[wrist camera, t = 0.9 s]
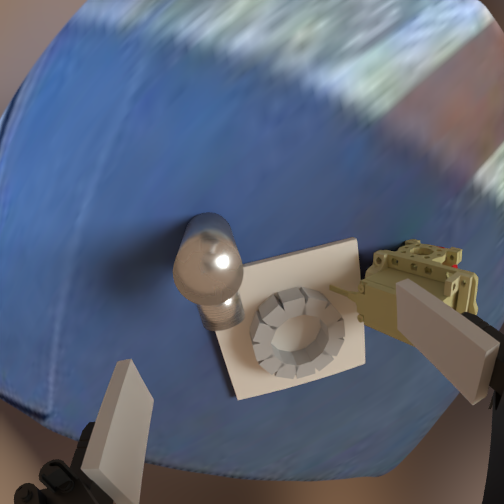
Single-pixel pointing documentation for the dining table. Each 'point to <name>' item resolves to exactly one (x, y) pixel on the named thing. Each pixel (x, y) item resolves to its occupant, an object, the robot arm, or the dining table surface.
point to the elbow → (211, 271)
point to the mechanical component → (420, 272)
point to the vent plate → (295, 320)
